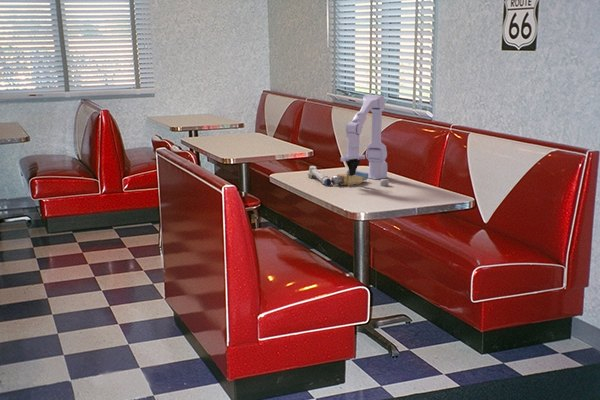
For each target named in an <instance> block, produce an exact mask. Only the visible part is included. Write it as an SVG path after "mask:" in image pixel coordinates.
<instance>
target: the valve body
mask: <svg viewBox="0 0 600 400" xmlns="http://www.w3.org/2000/svg"><path fill="white" fill-rule="evenodd" d="M368 179H369V178H368V177H361V176H357V175H347V172H346V173H340V174H336V176H333V177H331V179H330V180H331V185H333V186H337V185H342V186H348V185H349V186H355V185H354V184H356V185H361V183H363V181H367V180H368Z"/></svg>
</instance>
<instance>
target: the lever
mask: <svg viewBox="0 0 600 400" xmlns="http://www.w3.org/2000/svg"><path fill="white" fill-rule="evenodd" d="M346 173H347V175H350V172H349V169H346ZM355 175H357V176H361V177H368V176H369V172H364V171H359V170H356V172H355Z"/></svg>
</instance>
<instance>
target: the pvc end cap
mask: <svg viewBox="0 0 600 400" xmlns="http://www.w3.org/2000/svg"><path fill="white" fill-rule="evenodd" d="M389 183H390V180H389V179H388V178H381V179H380V185H379V186H381V187H389V186H390V185H389Z"/></svg>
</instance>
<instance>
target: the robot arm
mask: <svg viewBox="0 0 600 400" xmlns="http://www.w3.org/2000/svg"><path fill="white" fill-rule="evenodd" d="M385 101H386V99H385V97H384V95H382V94H381V95H380V94H379V95H378V94H367V93H366V94H364V96H363V97H362V105H361V108H360V110H359V111H358V112H356V113H355V115H354V116H353V118H352V120H351V121H349V122H347V123H346V125H345V134H346V139H347V148H346V155H344V156H341V157H340V162H343V163H344V162H345V164H346V165H347V167H348V170H349V172H350V175H355V172H356V171H357V168H358V167H359V164H360V163H361V160H365V159H367V162H368V173H369V174H368V178H367V179H371V180H372V179H373V180H381V179H388V178H389V177H388V162H386V159H387V157H388V150H387V145H385V143H383V142H382V119H383V118H382V116H383V115H382V113H383V111H385V107H386V106H385V105H386V104H385V103H386V102H385ZM369 112H371V142H370V143H368V144H367V146H366V151H365V154H360V137H361V136H360V135H361V134H362V132H363V126H364V124H365V122H366V120H367V115H368V114H369Z"/></svg>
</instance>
